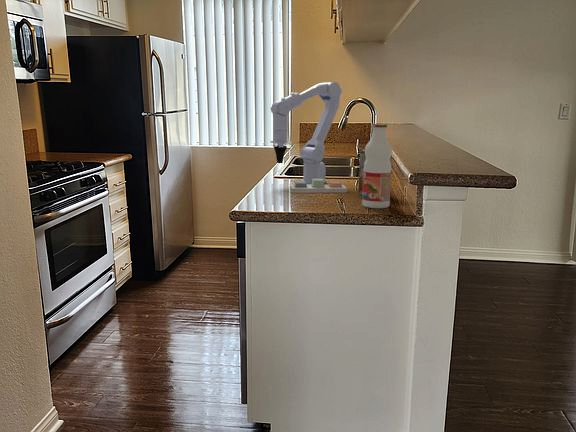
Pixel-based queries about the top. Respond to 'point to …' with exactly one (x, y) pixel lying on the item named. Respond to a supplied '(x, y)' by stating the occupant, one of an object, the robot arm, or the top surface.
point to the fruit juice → (377, 169)
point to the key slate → (300, 185)
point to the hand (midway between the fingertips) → (279, 163)
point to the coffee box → (361, 172)
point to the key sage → (318, 182)
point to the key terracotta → (335, 184)
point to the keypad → (318, 189)
